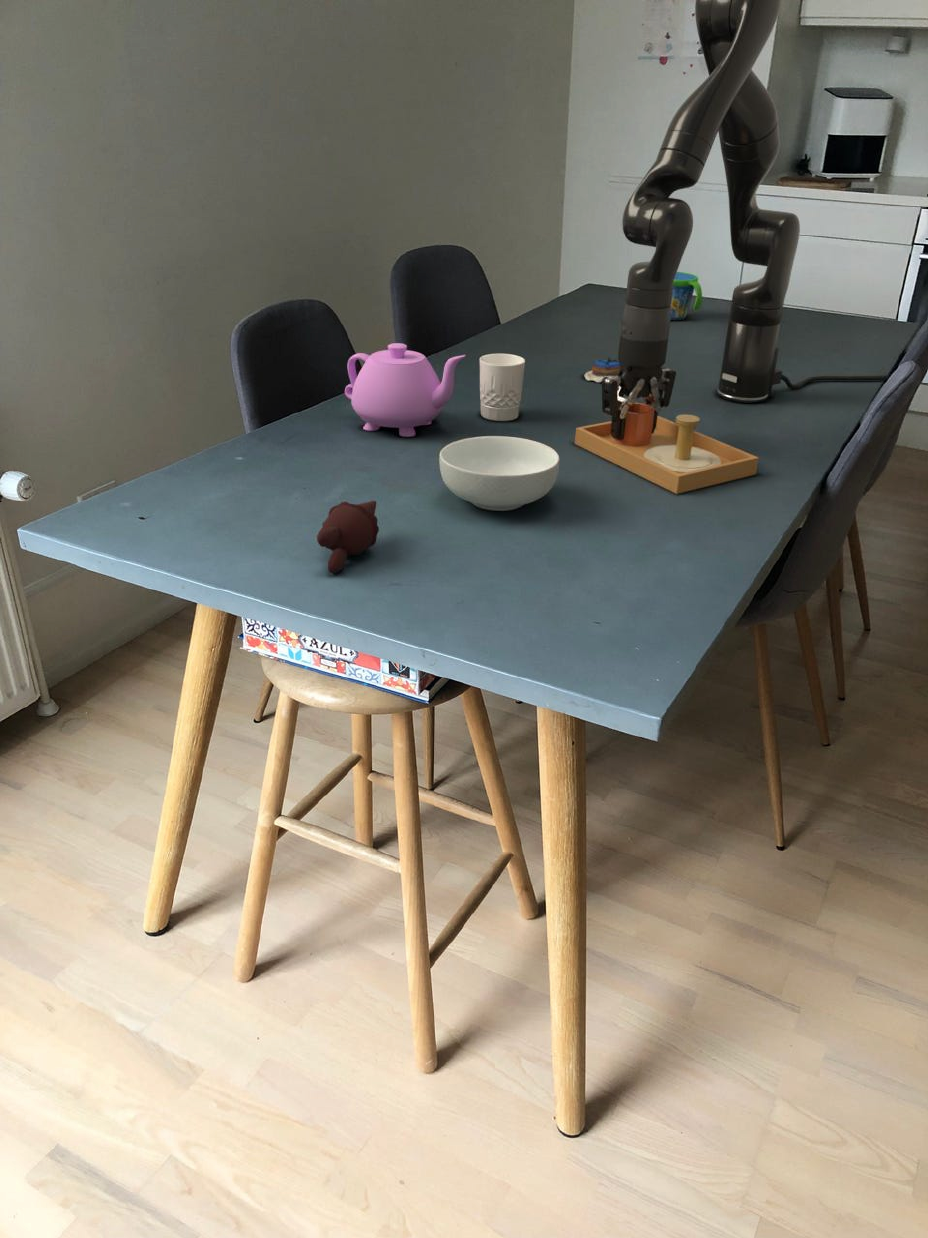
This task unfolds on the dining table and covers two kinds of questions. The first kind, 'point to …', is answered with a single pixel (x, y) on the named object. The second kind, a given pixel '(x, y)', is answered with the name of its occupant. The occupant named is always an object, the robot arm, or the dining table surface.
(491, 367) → the white cup
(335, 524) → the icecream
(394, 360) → the teapot
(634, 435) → the terracotta cup
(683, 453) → the round base post stand
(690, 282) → the snack cup
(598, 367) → the dessert
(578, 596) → the dining table surface
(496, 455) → the cereal bowl
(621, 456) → the serving tray
